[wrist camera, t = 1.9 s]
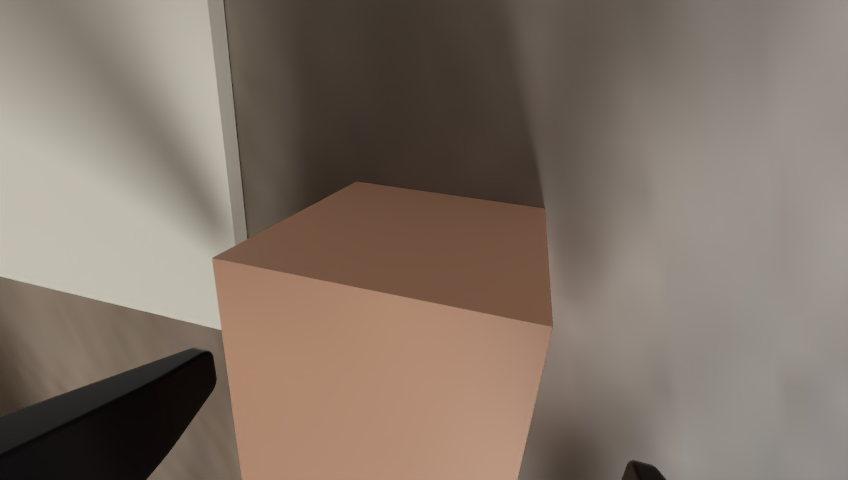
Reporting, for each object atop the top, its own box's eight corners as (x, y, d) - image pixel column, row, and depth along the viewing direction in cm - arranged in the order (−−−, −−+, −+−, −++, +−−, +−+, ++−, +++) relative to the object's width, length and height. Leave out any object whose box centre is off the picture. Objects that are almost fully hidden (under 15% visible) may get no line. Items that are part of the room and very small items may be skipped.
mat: (256, 326, 12) (245, 335, 12) (-28, 259, 15) (-46, 265, 14) (188, -341, 7) (165, -370, 7) (-235, -271, 10) (-272, -288, 9)
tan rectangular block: (494, 461, 12) (468, 685, 8) (355, 422, 13) (258, 601, 8) (545, 206, 9) (552, 327, 5) (358, 180, 10) (211, 257, 5)
